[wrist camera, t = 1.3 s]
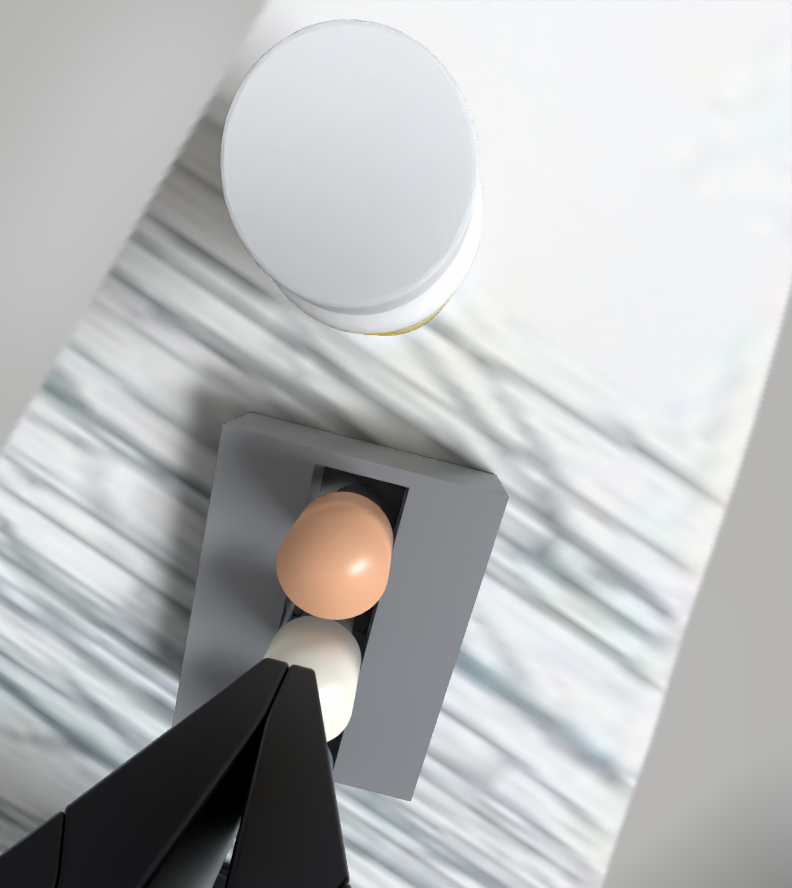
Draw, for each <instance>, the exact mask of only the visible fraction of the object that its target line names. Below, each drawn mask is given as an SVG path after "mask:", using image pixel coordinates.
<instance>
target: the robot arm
mask: <svg viewBox="0 0 792 888" xmlns="http://www.w3.org/2000/svg"><path fill="white" fill-rule="evenodd" d="M238 828H239V829H238ZM237 831H238V833H237ZM236 833H237V837H236V841H235V845H234V850H233V854H232V858H231V862H230V866H229V870H228V869H224V868H221V867H222V864H223V862H224V860H225V858H226V856H227V853H228V851H229V849H230V847H231V845H232V842H233V840H234V838H235V835H236ZM348 883H349V872H348V866H347V860H346V854H345V848H344V842H343V836H342V830H341V824H340V818H339V812H338V806H337V800H336V794H335V788H334V782H333V776H332V770H331V764H330V758H329V752H328V746H327V740H326V734H325V728H324V722H323V716H322V710H321V704H320V698H319V692H318V686H317V680H316V674H315V671H314V670H313V669H311V668H307V667H303V666H299V665H295V664H293V665H291V666H290V667H289V664H288V663H287V662H284V661H280V660H276V659H272V658H265V659H263V660H261V661H260V662H259V663H257V664H256V665H255V666H253V667H252V668H251V669H249V670H248V671H247V672H245V673H244V674H243V675H241V676H240V677H239V678H237V679H236V680H235V681H233V682H232V683H231V684H229V685H228V686H227V687H225V688H224V689H223V690H221V691H220V692H219V693H217V694H216V695H215V696H213V697H212V698H211V699H209V700H208V701H207V702H205V703H204V704H203V705H201V706H200V707H199V708H197V709H196V710H195V711H193V712H192V713H191V714H189V715H188V716H187V717H185V718H184V719H183V720H181V721H180V722H179V723H177V724H176V725H175V726H173V727H172V728H171V729H169V730H168V731H167V732H165V733H164V734H163V735H161V736H160V737H159V738H157V739H156V740H155V741H153V742H152V743H151V744H149V745H148V746H147V747H145V748H144V749H143V750H141V751H140V752H139V753H137V754H136V755H135V756H133V757H132V758H131V759H129V760H128V761H127V762H125V763H124V764H123V765H121V766H120V767H119V768H117V769H116V770H114V771H113V772H112V773H110V774H109V775H108V776H106V777H105V778H104V779H102V780H101V781H100V782H98V783H97V784H96V785H94V786H93V787H92V788H90V789H89V790H88V791H86V792H85V793H84V794H82V795H81V796H80V797H78V798H77V799H76V800H74V801H73V802H72V803H70V804H69V805H68V806H67V807H66V809H65V814H64V812H62V811H60V812H58V813H57V814H55V815H54V816H53V817H51V818H50V819H49V820H47V821H46V822H45V823H43V824H42V825H41V826H39V827H38V828H37V829H35V830H34V831H33V832H31V833H30V834H29V835H27V836H26V837H25V838H23V839H22V840H20V841H19V842H18V843H16V844H15V845H13V846H12V847H11V848H9V849H8V850H6V851H5V852H4V853H2V854H1V855H0V888H351V886H350V885H349V884H348Z"/></svg>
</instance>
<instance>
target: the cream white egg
mask: <svg viewBox="0 0 792 888" xmlns="http://www.w3.org/2000/svg"><path fill="white" fill-rule="evenodd" d="M354 621H355V617H352V618H348V619H341V620H331V619H324V618H320V617H316V616H313V615H311V614H309V613H307V612H305V611H303V613H302V615H301V617H299V618H296V619H293V620H291V621H289V622H288V623H286V624H285V625H283V626H282V627H281V628H280V629H279V630H278V631H277V633H276V634H275V636H274V638H273V640H272V642H271V644H270V646H269V648H268V650H267V652H266V654H265V656H264V658H263V659H265V658H272V659H276V660H280V661H284V662H287V663H288V664H289V667H290V666H291V665H293V664H295V665H299V666H303V667H307V668H311V669H313V670H314V671H315V674H316V680H317V686H318V692H319V698H320V704H321V710H322V716H323V722H324V728H325V734H326V740H327V742H328V741H330V740H332V739H334V738H335V737H336V736H338V735H339V734H340V733H341V732H342V731H343V730H344V729H345V727H346V726H347V724H348V722H349V721H350V718H351V715H352V709H353V704H354V699H355V693H356V688H357V683H358V677H359V672H360V667H361V652H360V648H359V645H358V643H357V641H356V639H355V638H354V636H353V635H352V629H353V625H354Z"/></svg>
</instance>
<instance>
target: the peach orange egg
mask: <svg viewBox="0 0 792 888" xmlns="http://www.w3.org/2000/svg"><path fill="white" fill-rule="evenodd" d="M392 548H393V532H392V528H391V525H390V522H389V520H388V518H387V516H386V515H385V513H384V512H383V511H382V507H381V503H380V501H379V499H378V497H377V496H376V495H375V494H374V493H373V492H372V491H371V490H369V489H368V488H366V487H363V486H359V485H349V486H345V487H343V488H341V489H339V490H338V491H336V492H333V493H329V494H326V495H323V496H321V497H319V498H317V499H315V500H314V501H312V502H311V503H310V504H309V505H308V506H307V507H306V508H305V509H304V511H303V512H302V513H301V515H300V516H299V518H298V519H297V521H296V522H295V524H294V525H293V526H292V528H291V529H290V531H289V532H288V534H287V535H286V536H285V538H284V540H283V541H282V543H281V545H280V547H279V550H278V554H277V560H276V569H277V575H278V579H279V582H280V584H281V587H282V589H283V590H284V592H285V594H286V595H287V596H288V598H289V599H290V600H291V601H292V602H293V603H294V604H295V605H296V606H298V607H299V608H300V609H302V610H303V611H305V612H307V613H309V614H311V615H313V616H316V617H320V618H324V619H331V620H341V619H348V618H352V617H355V616H358V615H360V614H362V613H364V612H365V611H367V610H369V609H370V608H371V607H372V606H374V605H375V603H376V602H377V601H378V600H379V599H380V597H381V596H382V594H383V592H384V590H385V588H386V585H387V582H388V577H389V570H390V563H391V556H392Z"/></svg>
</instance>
